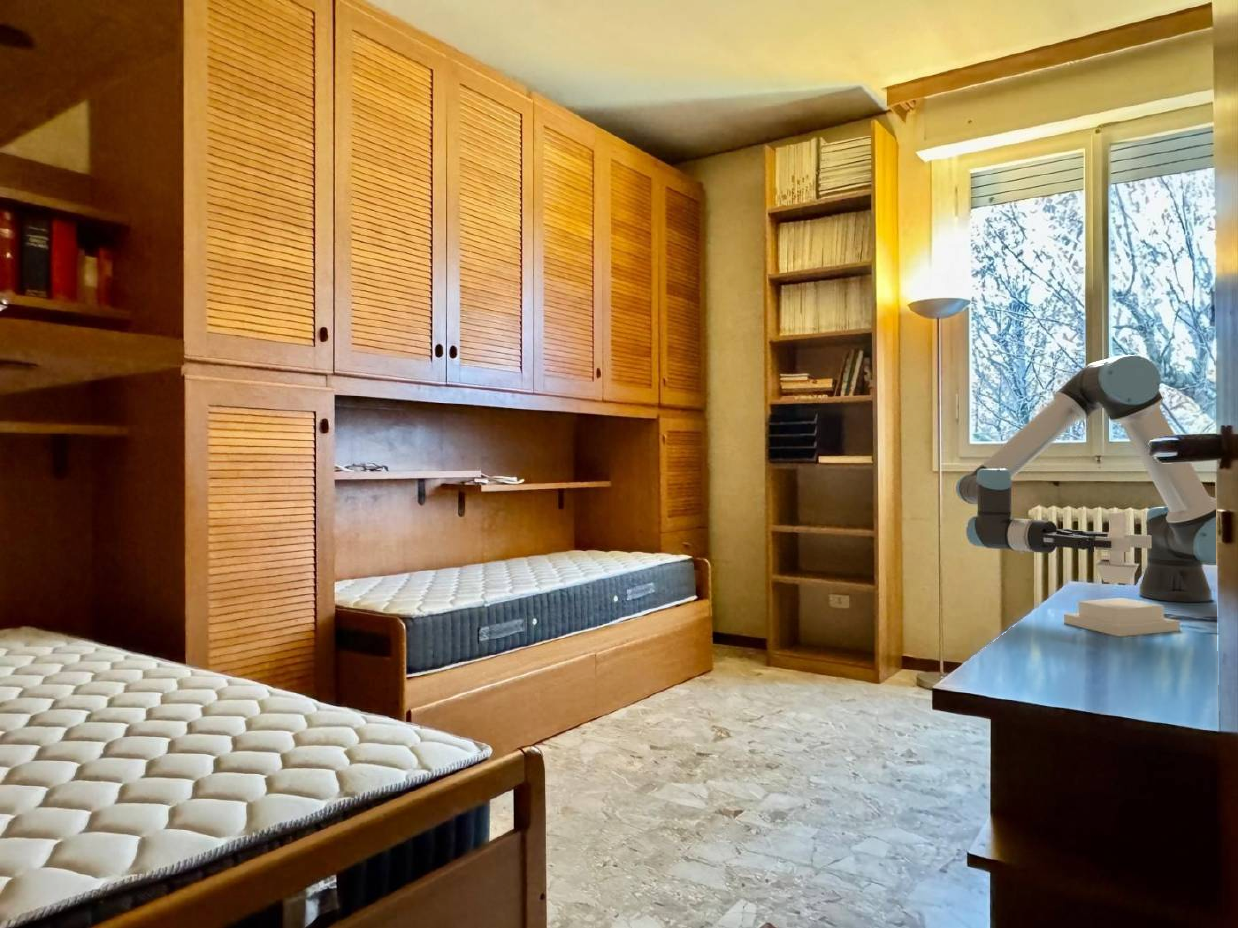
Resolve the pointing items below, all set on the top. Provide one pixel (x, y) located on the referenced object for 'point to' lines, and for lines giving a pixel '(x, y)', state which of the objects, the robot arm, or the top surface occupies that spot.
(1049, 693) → the top surface
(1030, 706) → the top surface
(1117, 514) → the figurine
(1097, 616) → the plinth
